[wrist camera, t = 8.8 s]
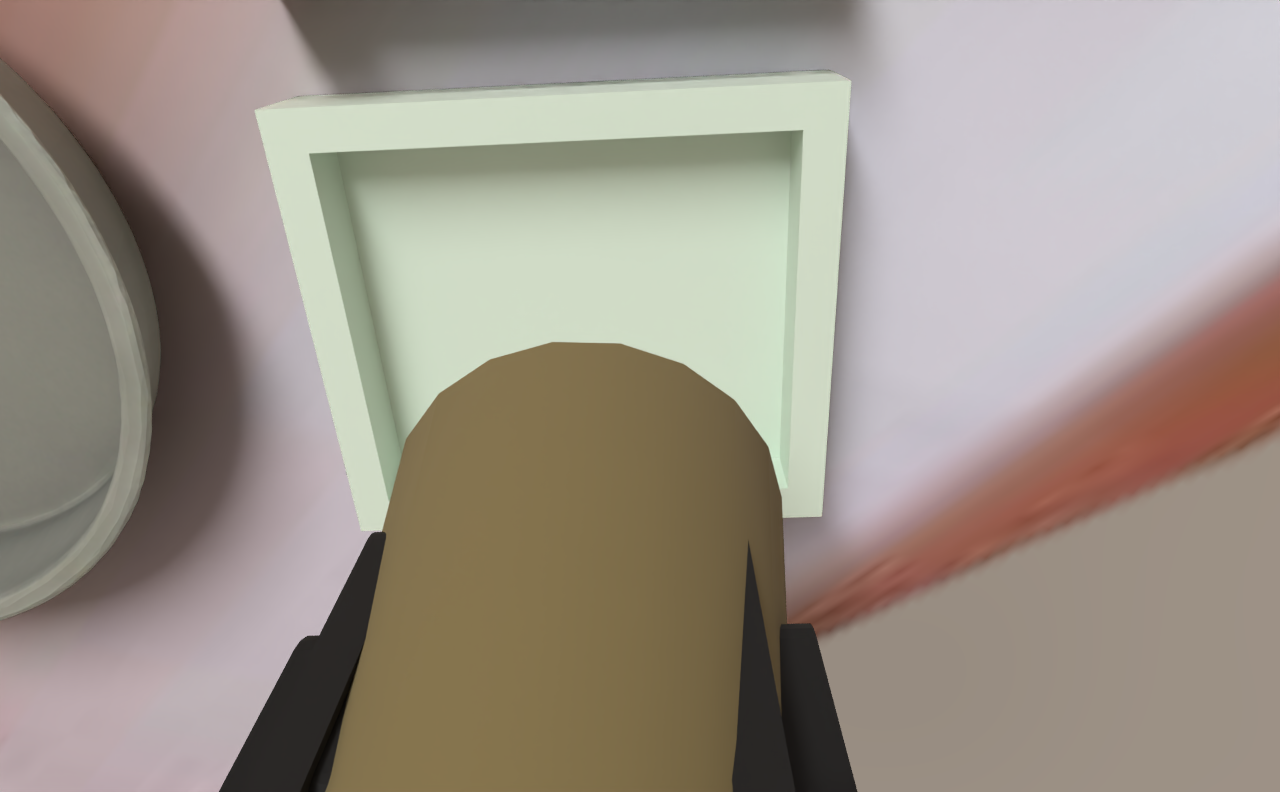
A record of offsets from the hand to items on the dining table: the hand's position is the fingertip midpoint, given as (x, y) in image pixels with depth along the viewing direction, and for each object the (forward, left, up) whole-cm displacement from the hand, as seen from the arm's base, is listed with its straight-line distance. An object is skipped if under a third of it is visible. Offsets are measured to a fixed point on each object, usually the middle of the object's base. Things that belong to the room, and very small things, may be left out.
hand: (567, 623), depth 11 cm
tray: (+1, +2, -18) cm, 18 cm away
